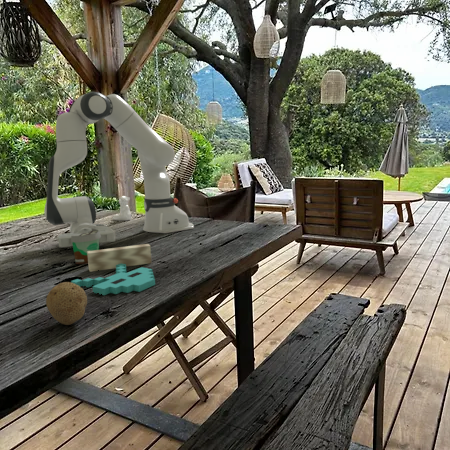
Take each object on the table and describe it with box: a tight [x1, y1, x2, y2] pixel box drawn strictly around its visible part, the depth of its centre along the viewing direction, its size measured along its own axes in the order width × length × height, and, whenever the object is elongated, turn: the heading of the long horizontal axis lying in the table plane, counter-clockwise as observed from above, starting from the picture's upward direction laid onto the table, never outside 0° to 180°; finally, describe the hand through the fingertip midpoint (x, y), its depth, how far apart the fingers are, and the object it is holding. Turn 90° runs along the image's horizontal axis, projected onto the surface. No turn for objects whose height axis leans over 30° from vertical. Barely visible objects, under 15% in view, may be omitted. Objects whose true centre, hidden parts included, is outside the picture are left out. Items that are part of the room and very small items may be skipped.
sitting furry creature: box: [112, 195, 133, 222], centre depth 225 cm, size 10×9×12 cm
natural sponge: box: [45, 281, 88, 326], centre depth 105 cm, size 9×9×10 cm
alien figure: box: [70, 263, 156, 296], centre depth 134 cm, size 20×2×20 cm
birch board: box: [87, 243, 152, 272], centre depth 149 cm, size 20×3×6 cm, turn 114°
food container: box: [71, 229, 101, 265], centre depth 155 cm, size 12×6×10 cm, turn 161°
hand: (89, 242), depth 161 cm, fingers closed
